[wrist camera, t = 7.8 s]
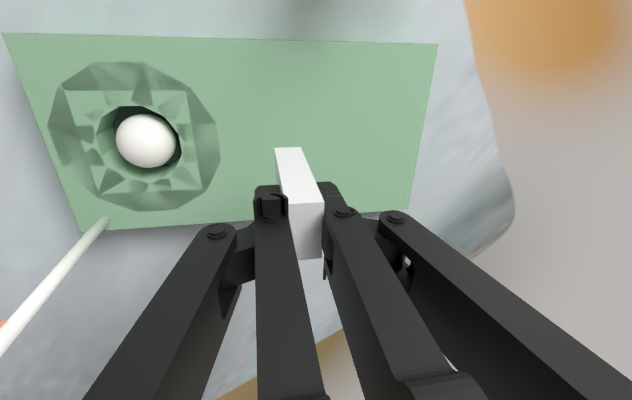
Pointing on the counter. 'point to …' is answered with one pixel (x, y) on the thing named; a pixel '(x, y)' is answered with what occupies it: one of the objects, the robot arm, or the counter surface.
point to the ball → (145, 140)
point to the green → (217, 126)
